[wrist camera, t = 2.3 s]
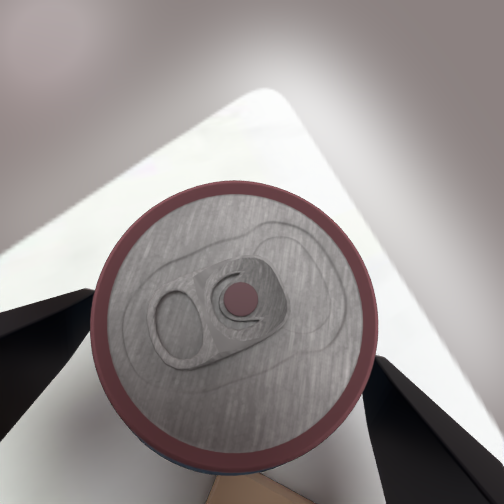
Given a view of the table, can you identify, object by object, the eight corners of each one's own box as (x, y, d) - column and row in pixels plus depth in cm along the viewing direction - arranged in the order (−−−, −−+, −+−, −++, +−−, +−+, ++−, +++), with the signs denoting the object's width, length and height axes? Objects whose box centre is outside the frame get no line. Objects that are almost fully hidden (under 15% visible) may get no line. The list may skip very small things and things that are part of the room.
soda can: (260, 270, 18) (312, 132, 7) (304, 372, 16) (481, 399, 5) (160, 308, 17) (29, 205, 6) (194, 425, 14) (91, 645, 3)
